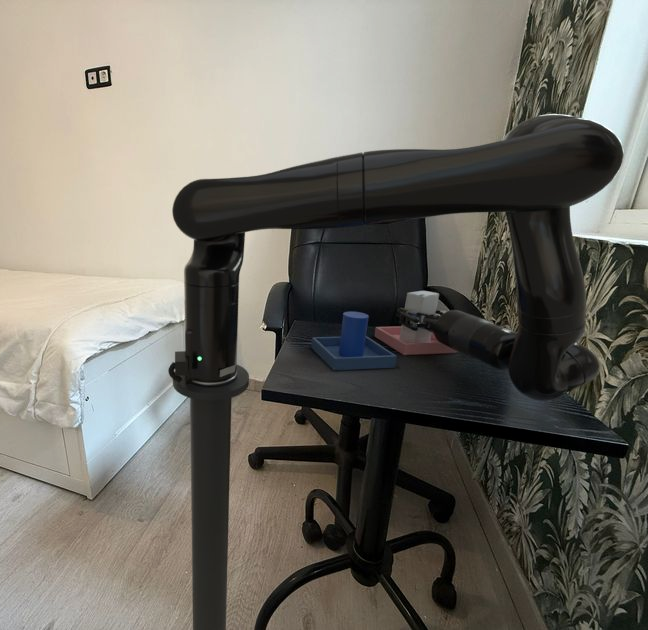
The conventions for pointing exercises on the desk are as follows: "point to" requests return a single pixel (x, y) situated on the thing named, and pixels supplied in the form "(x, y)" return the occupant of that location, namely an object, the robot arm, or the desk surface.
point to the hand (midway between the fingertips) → (413, 311)
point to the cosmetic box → (421, 303)
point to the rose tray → (392, 339)
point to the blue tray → (371, 358)
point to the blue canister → (353, 334)
